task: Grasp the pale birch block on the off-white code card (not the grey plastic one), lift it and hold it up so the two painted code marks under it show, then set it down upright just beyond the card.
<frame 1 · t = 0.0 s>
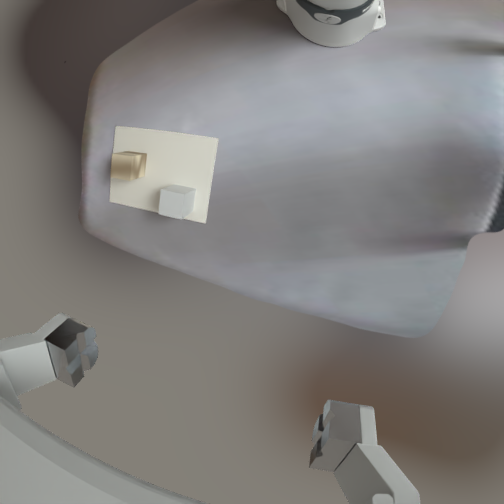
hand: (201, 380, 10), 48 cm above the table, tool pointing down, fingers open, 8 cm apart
birch block: (136, 163, 58), resting on code card
grey block: (183, 197, 59), resting on code card
code card: (158, 171, 58), on the table
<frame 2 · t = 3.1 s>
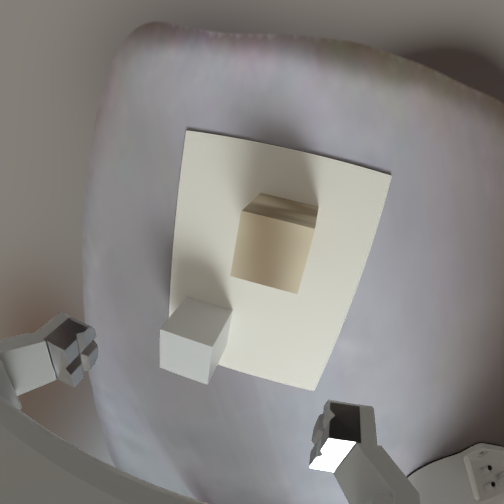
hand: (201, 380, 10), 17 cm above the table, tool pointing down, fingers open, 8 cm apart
birch block: (283, 227, 25), resting on code card
grey block: (206, 322, 30), resting on code card
code card: (259, 278, 27), on the table
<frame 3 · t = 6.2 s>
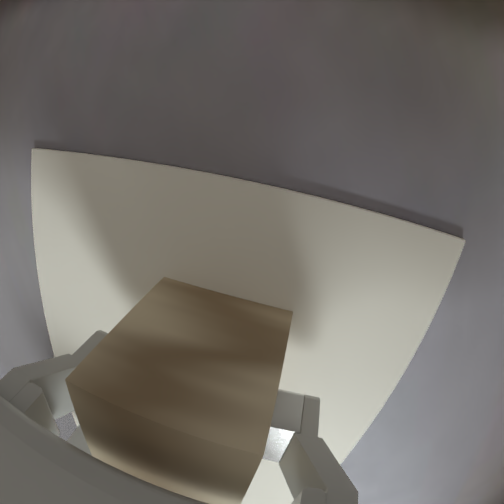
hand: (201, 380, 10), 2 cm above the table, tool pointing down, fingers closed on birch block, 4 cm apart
birch block: (217, 345, 11), resting on code card, touching gripper
grey block: (124, 445, 16), resting on code card
code card: (187, 412, 14), on the table
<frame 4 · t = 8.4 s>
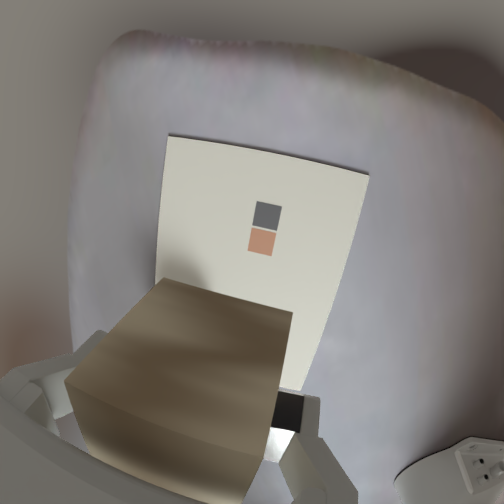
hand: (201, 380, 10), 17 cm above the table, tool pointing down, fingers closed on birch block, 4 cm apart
birch block: (217, 346, 11), point 15 cm above the table, touching gripper
code card: (242, 280, 28), on the table
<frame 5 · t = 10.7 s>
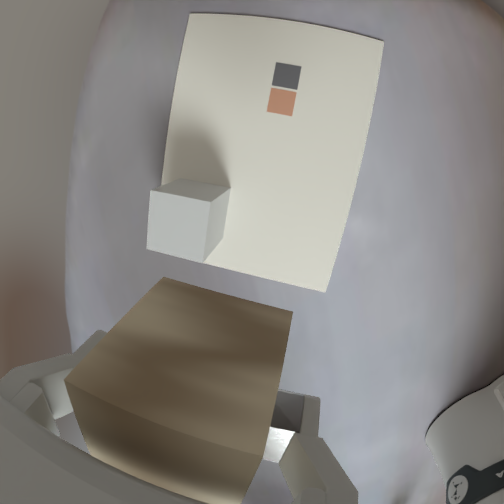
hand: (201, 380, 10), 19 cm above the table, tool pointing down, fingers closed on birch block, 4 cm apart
birch block: (217, 346, 11), point 17 cm above the table, touching gripper
grey block: (201, 208, 27), resting on code card
code card: (260, 146, 25), on the table
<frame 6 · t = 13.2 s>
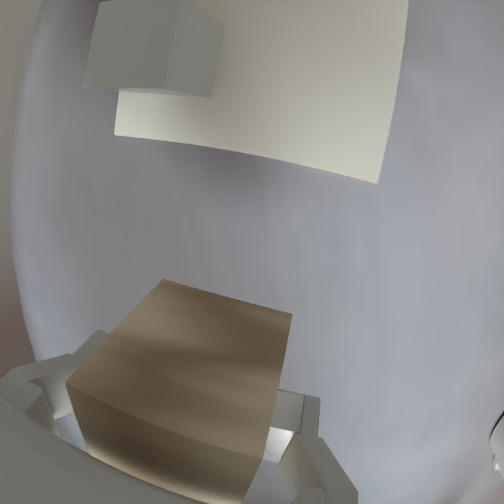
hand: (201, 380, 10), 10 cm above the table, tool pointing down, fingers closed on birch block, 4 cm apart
birch block: (217, 347, 11), point 9 cm above the table, touching gripper
grey block: (180, 59, 16), resting on code card
when the fingers open (3 cm above the table, at t = 15.3 s): birch block drops 1 cm, on the table.
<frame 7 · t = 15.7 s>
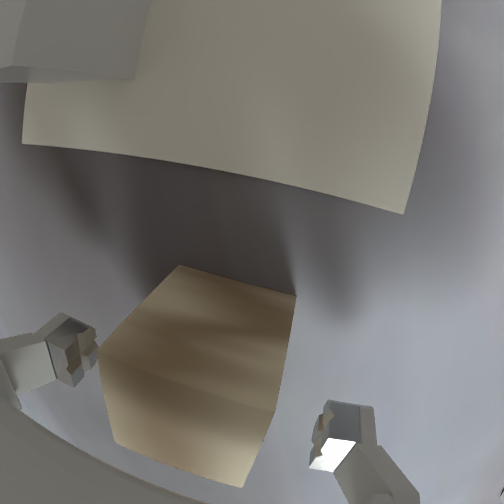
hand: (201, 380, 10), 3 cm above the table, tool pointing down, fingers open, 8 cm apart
birch block: (227, 328, 13), on the table
grey block: (97, 27, 9), resting on code card
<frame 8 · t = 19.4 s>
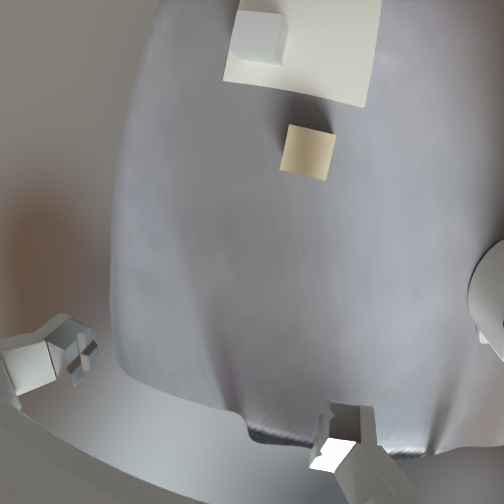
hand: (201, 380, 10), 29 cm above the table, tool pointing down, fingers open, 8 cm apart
birch block: (309, 149, 34), on the table
grey block: (265, 45, 30), resting on code card
code card: (309, 6, 28), on the table
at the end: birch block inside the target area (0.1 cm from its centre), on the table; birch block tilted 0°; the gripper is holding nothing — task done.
